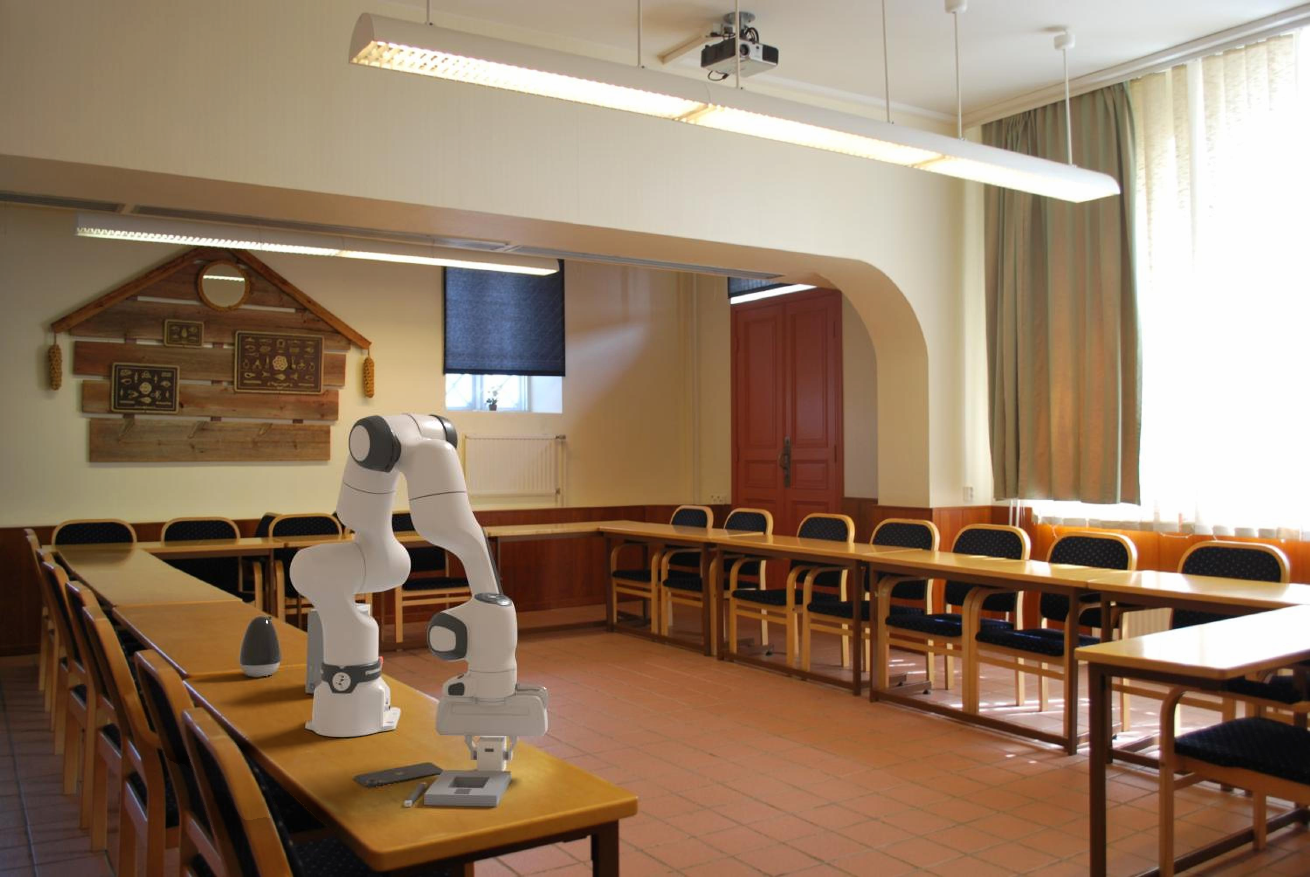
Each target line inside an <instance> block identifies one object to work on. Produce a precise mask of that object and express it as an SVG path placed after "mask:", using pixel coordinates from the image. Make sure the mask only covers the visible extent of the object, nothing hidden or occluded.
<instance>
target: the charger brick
mask: <svg viewBox="0 0 1310 877" xmlns="http://www.w3.org/2000/svg"><path fill="white" fill-rule="evenodd" d="M476 748H477V760H476V770H477V771H504V770H505V771H506V769H507V761H503V757H504V756H503V751H504V749H507V736H479V738H478V740H477V741H476Z"/></svg>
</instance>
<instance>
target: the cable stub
mask: <svg viewBox="0 0 1310 877" xmlns="http://www.w3.org/2000/svg"><path fill="white" fill-rule="evenodd" d="M427 787H428V786H427V782H420V783H419V784H418V785H417V787H416V788H415V789H414V790H413V791H412V792H411V794H410V795H409V796H408V798H406V799H405V800H404V802H403V804H404V805H403V806H404V808H409V807H412V806H413V805H414V803H415V802H416V800H417V799H418V798H419V797H420V795H421V794H422V793H423V792H424V790H425V789H426V788H427Z"/></svg>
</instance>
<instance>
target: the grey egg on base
mask: <svg viewBox="0 0 1310 877" xmlns="http://www.w3.org/2000/svg"><path fill="white" fill-rule="evenodd" d="M272 618H273V617H272V616H271V615H269V616H264V615H259V616H256V617H254V618H252V619H251V621H250V622H249V623H248V625H247V628H246V630H245V632H244V634H243V638H242V641H241V645H240V649H239V657H238V663H239V664H240V669H241V671H242V672H243V673H244V674H245V675H246V676H248V677H250V676H252V677H251V678H262V677H261V676H266V677H269V676H268V675H270V676H271V675H274V673H275V672H276V671H277V670H278V668H279V666H280V664H281V661H282V650H281V646H280V644H281V643H280V640H279V636H278V632H277V630H276V628H275V625H274V623H273V622H272ZM253 676H254V677H253Z"/></svg>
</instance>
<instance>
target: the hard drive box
mask: <svg viewBox="0 0 1310 877" xmlns="http://www.w3.org/2000/svg"><path fill="white" fill-rule="evenodd" d="M355 603H356V606H357V608H358V610H360V611H363V612H365V613H367V614H369V615H370V616H371V604H370V603H357V602H355ZM306 634H307V637H306V639H307V642H306V643H307V644H306V673H305V693H306V694H307V693H308V694H313V695H314V690H315V688H317V686H319V685H320V684H321V682H322V679H321V663H322V662H323V661H324V650H323V630H322V624H321V620H320V617H319V615H318V613H317V611H316V609H315V608H314V609H309V610H308V611H307V633H306Z"/></svg>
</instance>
